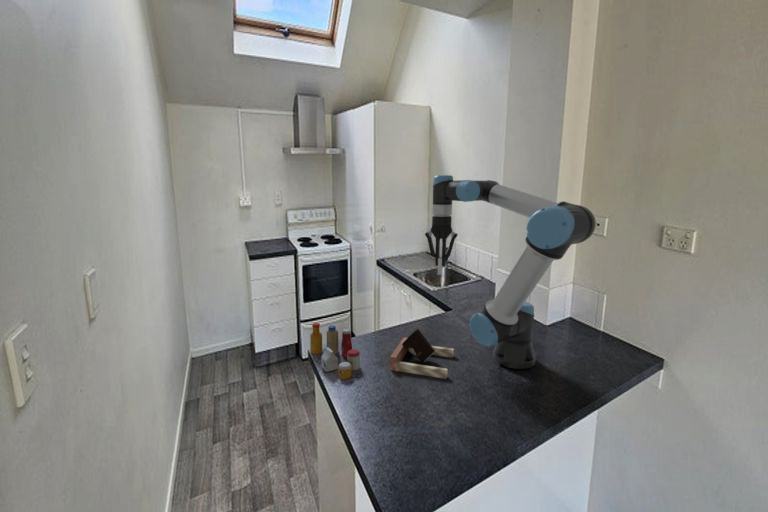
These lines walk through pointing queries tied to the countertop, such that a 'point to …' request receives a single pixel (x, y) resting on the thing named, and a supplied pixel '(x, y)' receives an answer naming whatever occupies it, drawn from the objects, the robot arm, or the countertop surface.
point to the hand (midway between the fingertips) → (440, 273)
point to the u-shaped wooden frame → (417, 368)
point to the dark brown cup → (418, 346)
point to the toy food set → (335, 351)
